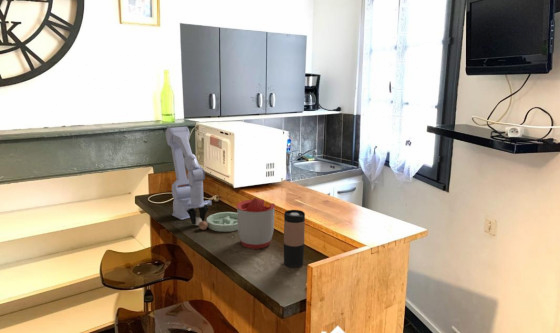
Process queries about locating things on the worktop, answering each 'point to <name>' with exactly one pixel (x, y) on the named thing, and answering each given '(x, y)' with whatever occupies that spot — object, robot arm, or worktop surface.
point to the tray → (221, 226)
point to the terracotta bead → (203, 225)
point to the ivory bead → (198, 221)
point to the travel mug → (294, 238)
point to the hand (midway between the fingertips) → (197, 222)
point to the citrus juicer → (255, 223)
